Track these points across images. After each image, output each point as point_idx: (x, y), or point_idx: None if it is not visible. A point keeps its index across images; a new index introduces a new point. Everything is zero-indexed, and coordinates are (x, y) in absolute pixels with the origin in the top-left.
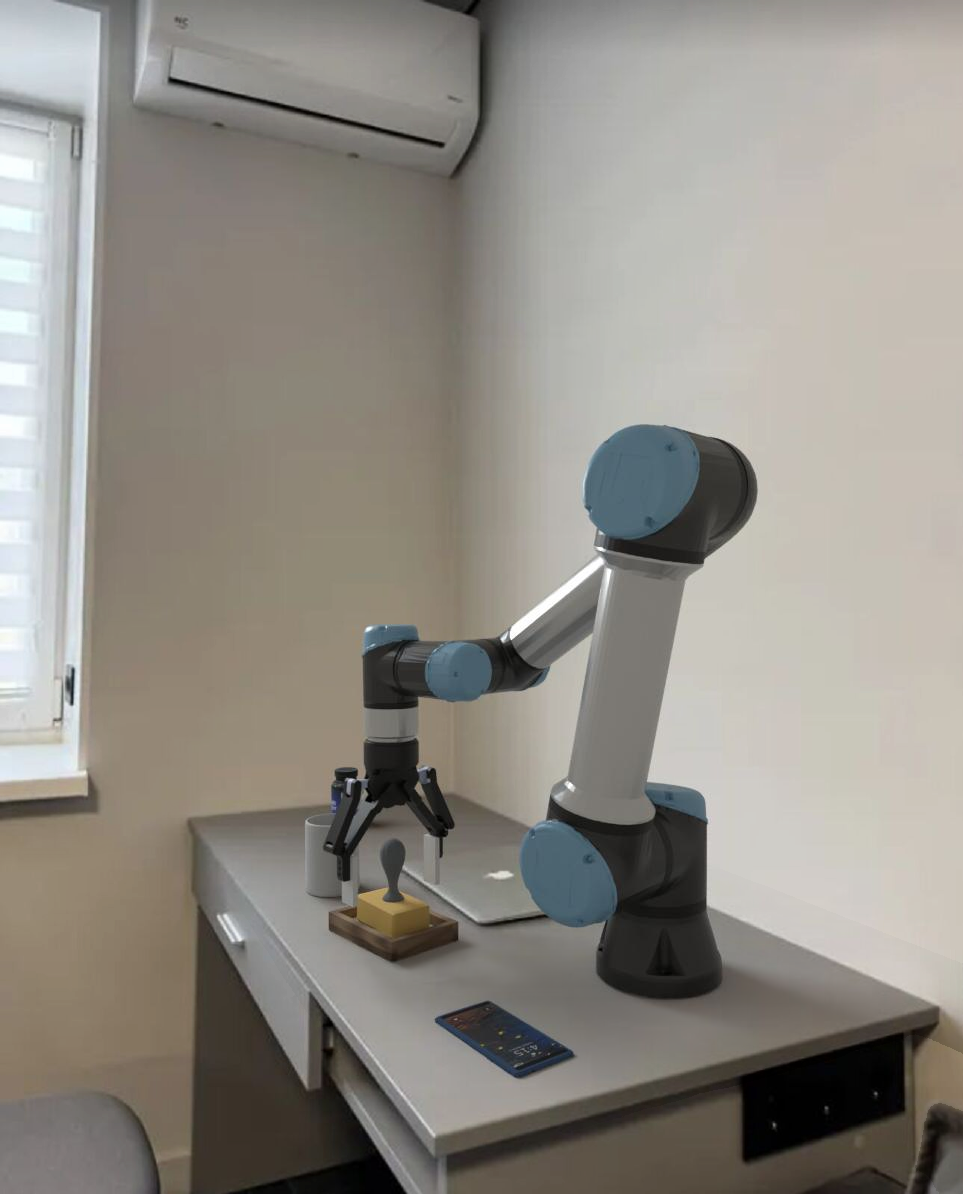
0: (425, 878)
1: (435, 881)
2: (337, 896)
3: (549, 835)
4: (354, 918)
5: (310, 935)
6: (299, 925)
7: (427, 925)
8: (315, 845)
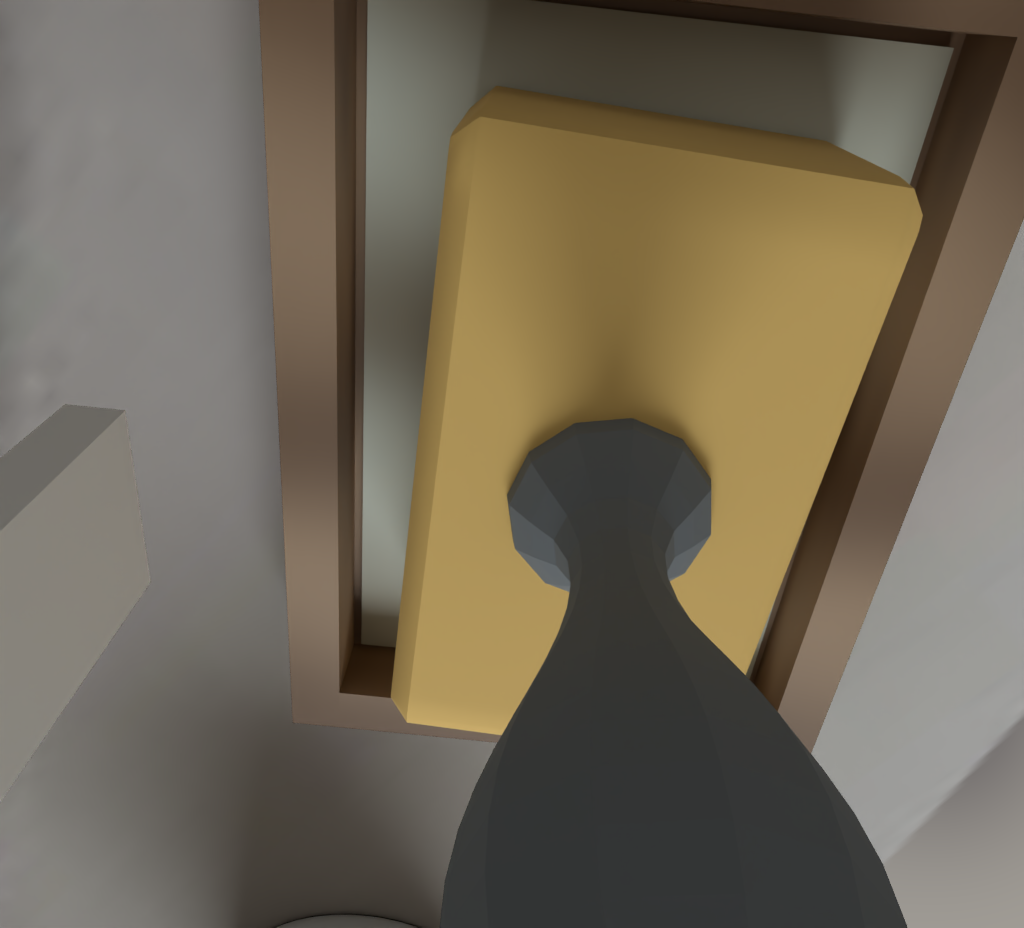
0: (134, 575)
1: (107, 425)
2: (413, 926)
3: None
4: None
5: (896, 693)
6: None
7: (508, 94)
8: None
